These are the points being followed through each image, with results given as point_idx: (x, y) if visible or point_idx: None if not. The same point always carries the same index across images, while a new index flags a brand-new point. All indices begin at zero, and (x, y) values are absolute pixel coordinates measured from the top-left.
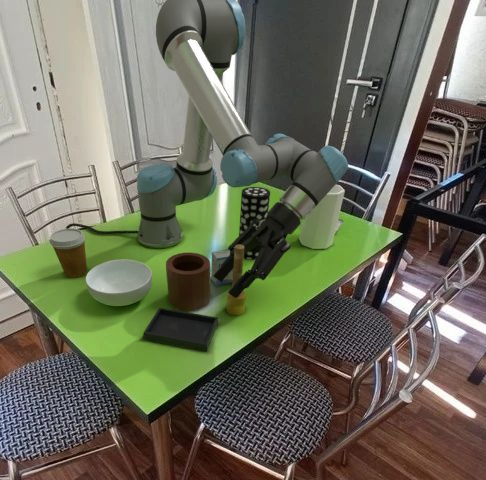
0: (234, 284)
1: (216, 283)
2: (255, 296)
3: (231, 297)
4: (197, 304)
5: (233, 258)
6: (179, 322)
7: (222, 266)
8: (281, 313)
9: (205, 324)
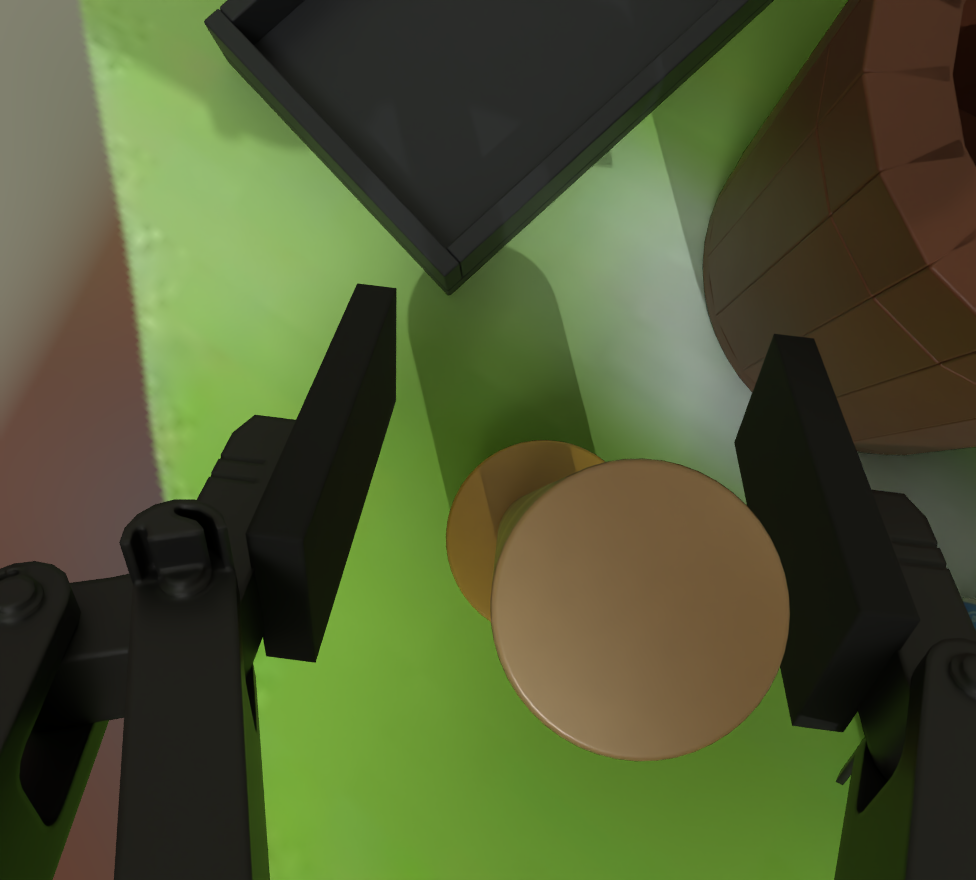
0: (369, 356)
1: (968, 604)
2: (612, 821)
3: (515, 453)
4: (717, 232)
5: (838, 640)
6: (610, 27)
7: (832, 449)
8: (279, 854)
9: (477, 188)
